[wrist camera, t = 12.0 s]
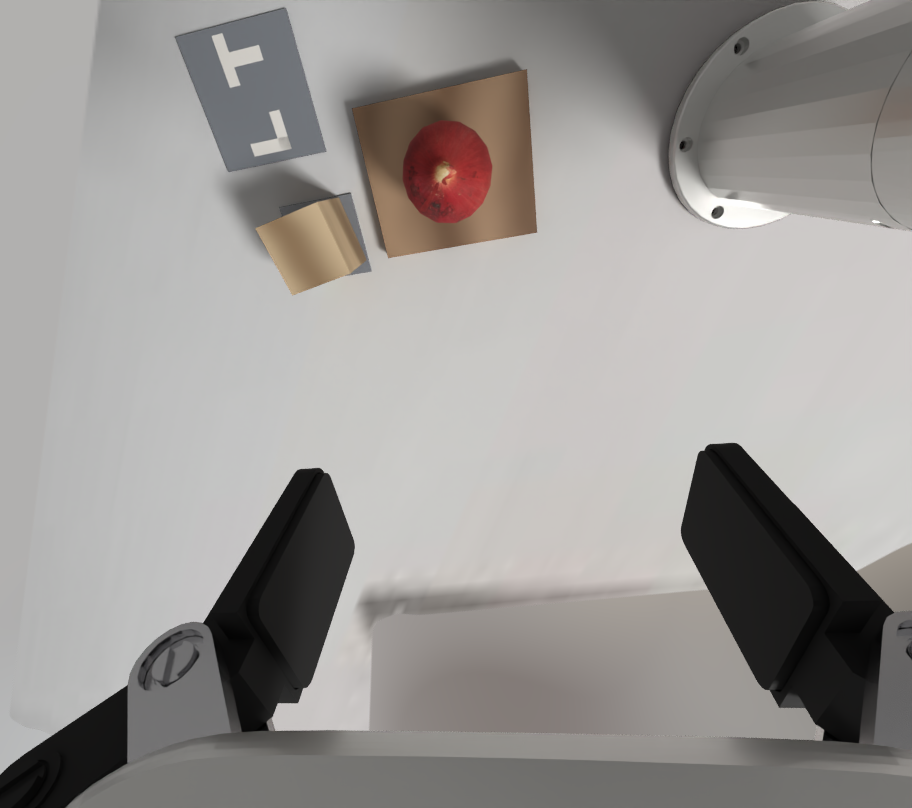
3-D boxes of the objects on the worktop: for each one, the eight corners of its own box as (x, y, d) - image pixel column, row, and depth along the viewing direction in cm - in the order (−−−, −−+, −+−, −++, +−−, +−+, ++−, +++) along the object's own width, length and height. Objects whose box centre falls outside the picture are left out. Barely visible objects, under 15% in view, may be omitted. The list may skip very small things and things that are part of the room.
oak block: (338, 197, 31) (316, 202, 27) (366, 260, 34) (350, 273, 29) (284, 220, 32) (255, 228, 28) (315, 279, 35) (292, 295, 31)
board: (524, 72, 27) (526, 69, 26) (535, 230, 32) (536, 232, 31) (356, 110, 29) (351, 108, 28) (390, 255, 34) (388, 258, 33)
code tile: (286, 9, 26) (285, 7, 26) (326, 151, 30) (325, 151, 30) (177, 37, 27) (175, 37, 27) (229, 172, 31) (228, 171, 31)
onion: (468, 231, 31) (465, 249, 24) (399, 194, 30) (376, 203, 23) (504, 151, 28) (512, 146, 22) (430, 108, 27) (414, 89, 21)
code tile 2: (351, 193, 31) (350, 193, 31) (371, 270, 34) (371, 271, 34) (280, 207, 32) (279, 207, 32) (306, 281, 35) (305, 282, 35)
